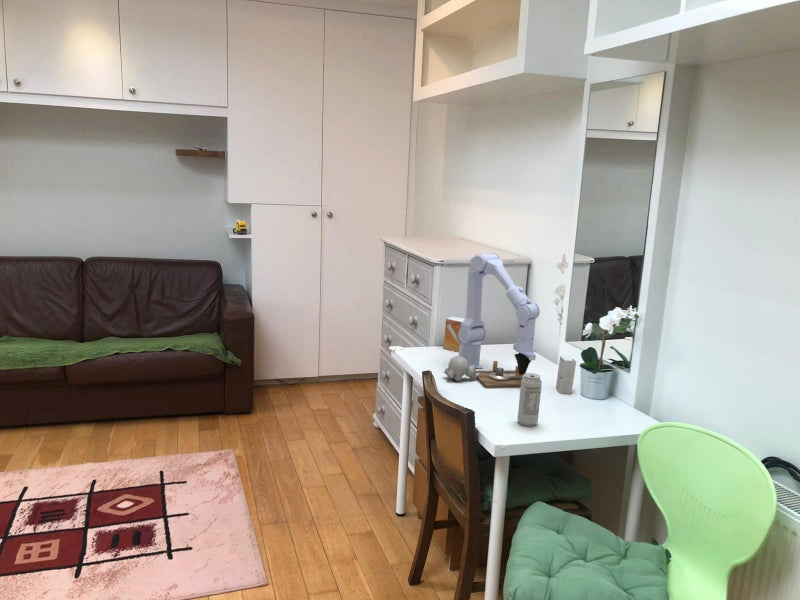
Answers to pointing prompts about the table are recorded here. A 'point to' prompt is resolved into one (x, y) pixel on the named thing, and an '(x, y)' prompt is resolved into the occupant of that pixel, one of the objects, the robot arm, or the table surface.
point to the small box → (452, 333)
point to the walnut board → (493, 383)
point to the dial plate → (504, 374)
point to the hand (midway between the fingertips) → (522, 374)
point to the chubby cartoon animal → (460, 369)
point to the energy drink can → (529, 399)
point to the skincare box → (565, 374)
